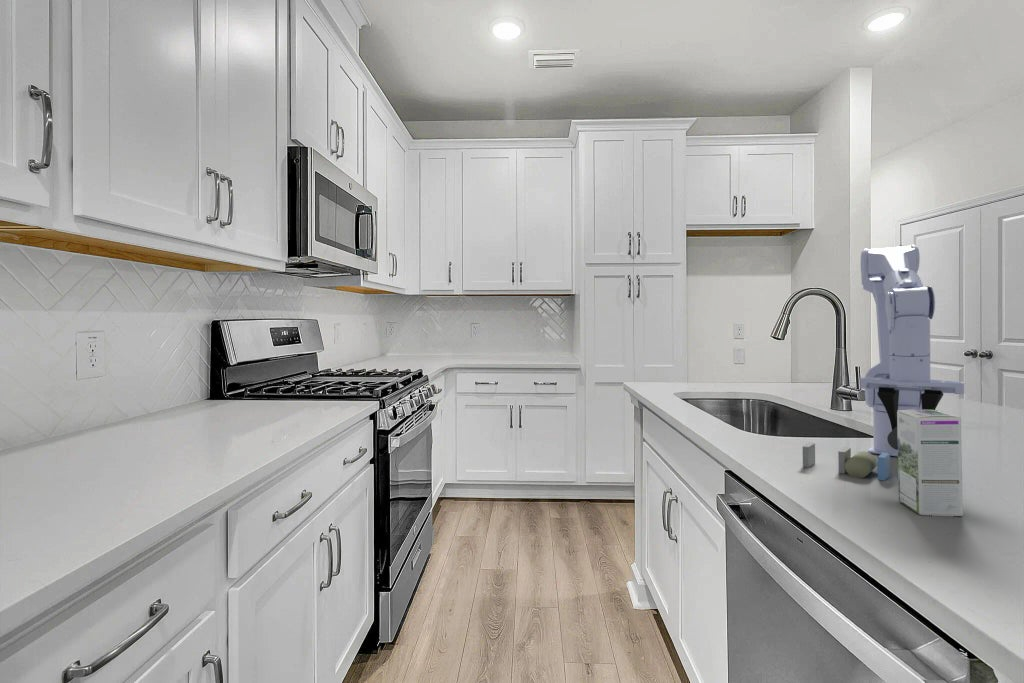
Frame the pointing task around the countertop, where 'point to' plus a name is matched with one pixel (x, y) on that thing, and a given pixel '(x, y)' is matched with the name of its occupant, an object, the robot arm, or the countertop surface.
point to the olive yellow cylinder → (860, 464)
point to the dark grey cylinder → (893, 438)
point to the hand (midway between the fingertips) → (909, 431)
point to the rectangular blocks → (844, 457)
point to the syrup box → (930, 462)
